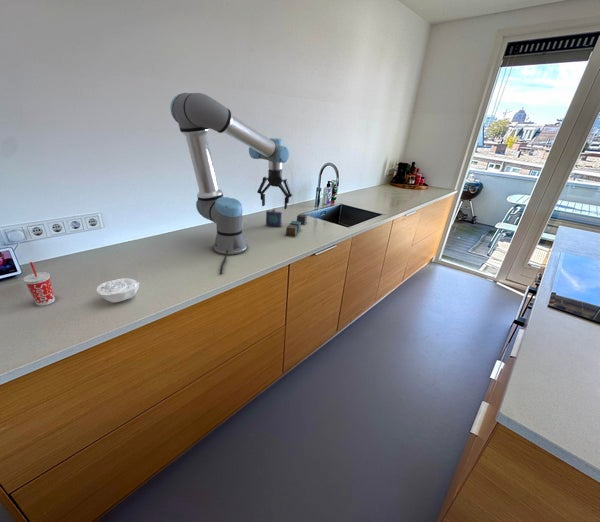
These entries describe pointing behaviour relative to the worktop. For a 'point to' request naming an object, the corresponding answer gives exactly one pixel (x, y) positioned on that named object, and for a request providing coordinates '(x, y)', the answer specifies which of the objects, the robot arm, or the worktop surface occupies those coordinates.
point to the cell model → (118, 289)
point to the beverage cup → (40, 287)
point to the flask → (273, 218)
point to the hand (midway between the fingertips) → (274, 207)
